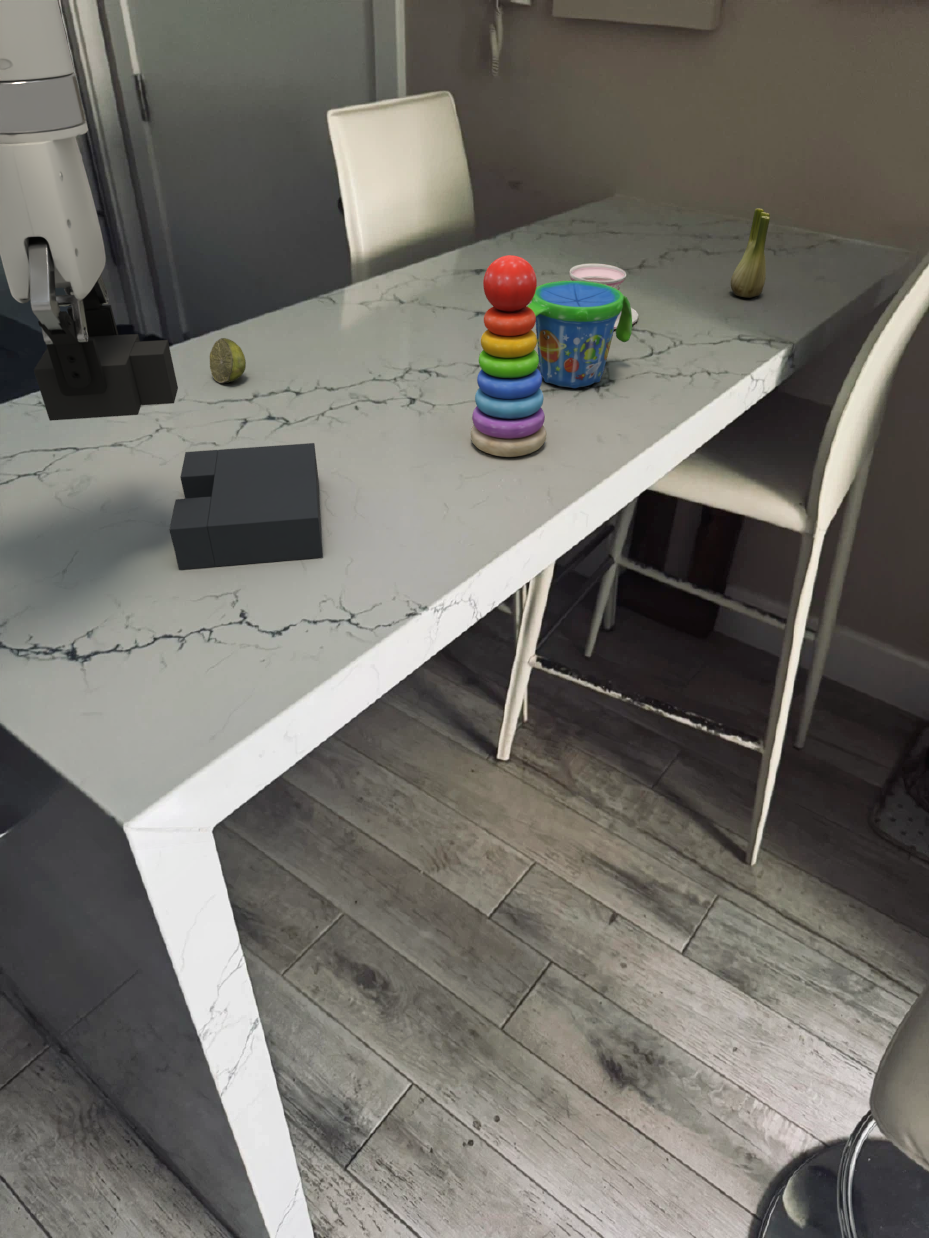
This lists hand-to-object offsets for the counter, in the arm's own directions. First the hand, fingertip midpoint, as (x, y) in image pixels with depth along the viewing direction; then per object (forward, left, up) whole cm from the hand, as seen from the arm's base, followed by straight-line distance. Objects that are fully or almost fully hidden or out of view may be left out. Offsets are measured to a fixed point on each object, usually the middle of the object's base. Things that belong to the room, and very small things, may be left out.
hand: (93, 372), depth 67 cm
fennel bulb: (+81, +57, -16) cm, 100 cm away
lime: (+6, +36, -16) cm, 40 cm away
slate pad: (+10, +2, -15) cm, 18 cm away
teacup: (+56, +51, -16) cm, 77 cm away
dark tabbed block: (+1, 0, -2) cm, 3 cm away
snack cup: (+47, +30, -16) cm, 58 cm away
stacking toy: (+36, +14, -16) cm, 42 cm away
